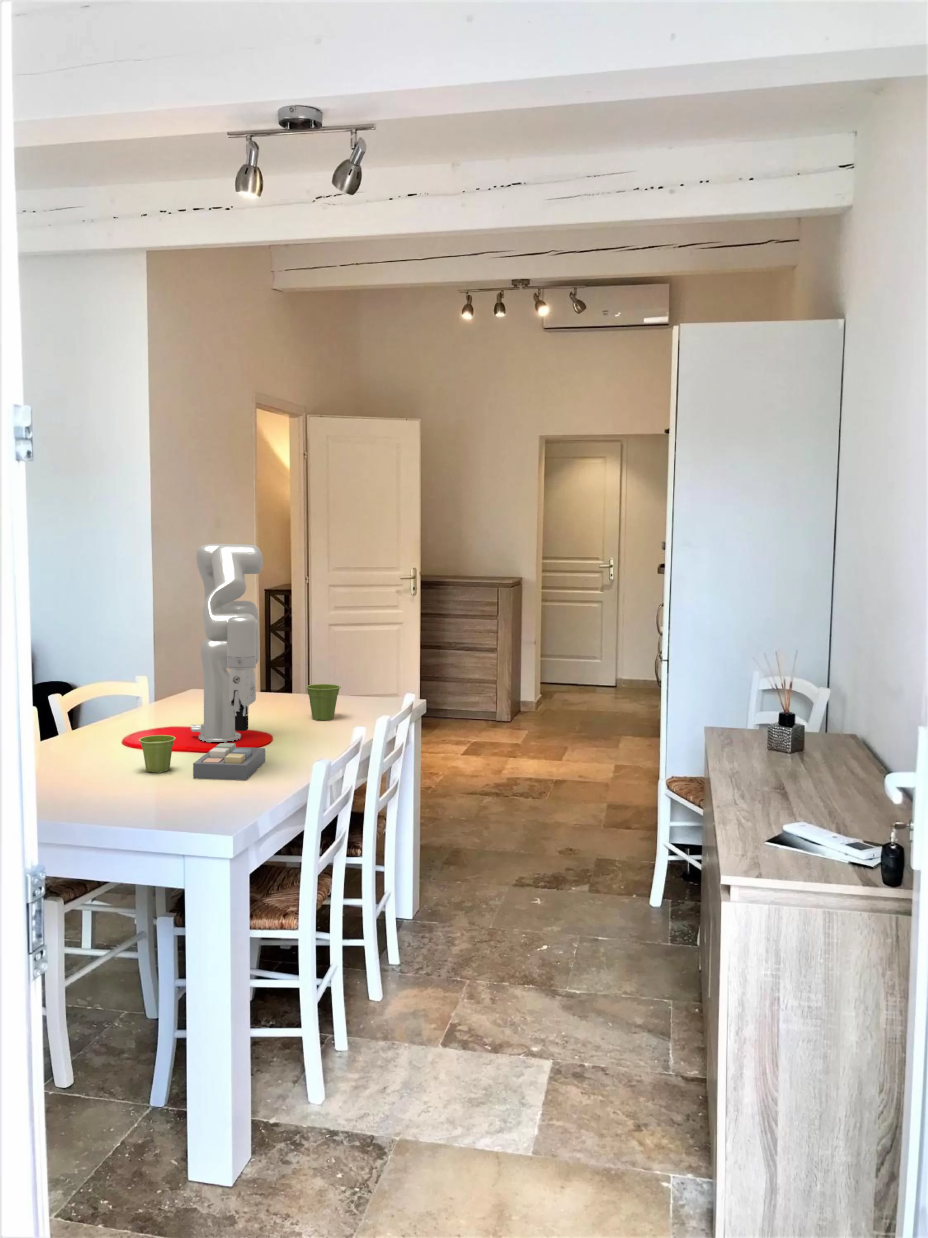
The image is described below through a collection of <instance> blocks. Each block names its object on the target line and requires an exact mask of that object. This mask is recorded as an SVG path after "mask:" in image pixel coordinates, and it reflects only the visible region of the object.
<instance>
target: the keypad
mask: <svg viewBox="0 0 928 1238" xmlns="http://www.w3.org/2000/svg"><path fill="white" fill-rule="evenodd" d="M214 748H216V746H215V747H214ZM236 748H238V749H251V756H250V757H249V758H245V761H244V762H243V763H242V764H236V763H225V758H224V757H210V750H209V751H208V752H207V753H205V754H204V755H203V756H201V757H200V758H198V759H197V760H195V761H194V762H193V763H192V768H193V769H192V772H193V773H192V778H193V779H196V778H198V779H199V780H225V781H226V780H227V781H229V780H230V781H247V780H248V779H249V778H251V776H252V775H254V773H256V772H257V771H258V768H259V769H260V768H261V767H262V766H263V765H264V764H265V763H266V747H248V746H247V747H245V746H244V747H243V746H242V747H239V746H236ZM230 753H231V754H232V752H229V754H230ZM207 758H222V759H223V760H222V761H221V762H220V763H208V762H203V761H204V760H205V759H207Z"/></svg>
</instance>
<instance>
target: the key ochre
mask: <svg viewBox="0 0 928 1238" xmlns="http://www.w3.org/2000/svg"><path fill="white" fill-rule="evenodd" d="M244 761H245V754H231V753H230V754H228V755H227V756H226V757H225V763H236V764H242V763H243V762H244Z"/></svg>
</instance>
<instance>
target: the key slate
mask: <svg viewBox="0 0 928 1238" xmlns="http://www.w3.org/2000/svg"><path fill="white" fill-rule="evenodd" d="M232 754H245V758H249V757H250V756H251V749H238V748H236V749H235V750H233V751H232Z"/></svg>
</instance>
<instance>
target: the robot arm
mask: <svg viewBox="0 0 928 1238" xmlns="http://www.w3.org/2000/svg"><path fill="white" fill-rule="evenodd" d="M260 549H261V548H260V547H258V545H255V544H248V543H247V544H245V543H209V544H202V545H200V546H199V547H198V548H197V550H196V554H195V555H196V558H195V560H196V565H197V570H198V572H199V575H200V577H201V580H202V583H203V588H204V602H203V607H202V619H203V620H202V621H203V629H204V632H205V633H204V634H205V636H206V639H204V640H203V641H202V643H201V644H200V656H201V657H200V658H201V663H202V671H203V673H202V675H203V723H202V724H190V731H191V732H193V733H200V734H199V735H198V740H199V739H200V740H202V741H201V742H204V741H206V742H205V743H211V742H224V743H228V742H227V741H232V742H235V741H234V740H236V741H238V739H239V740H240V739H241V738H242V734H241V733H240V732H247V731H248V730H249V709H250V708H249V706H250V705H252V704H253V703H255V702H256V698H257V694H256V693H257V692H256V691H257V690H256V676H255V675H256V673H255V669H256V667H257V665H258V662H259V659H260V623H259V612H258V611H259V610H258V607H257V605H256V604H255V602H253V601H251V600H237V599H240V598H241V597H242V596H244V594H245V593H246V591H247V583H246V577H245V575H259V574H260V573H261V572H262V570H263V565H264V559H263V558H264V557H263V553H262V551H261V550H260ZM228 670H229V671H228ZM200 740H199V741H200Z"/></svg>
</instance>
